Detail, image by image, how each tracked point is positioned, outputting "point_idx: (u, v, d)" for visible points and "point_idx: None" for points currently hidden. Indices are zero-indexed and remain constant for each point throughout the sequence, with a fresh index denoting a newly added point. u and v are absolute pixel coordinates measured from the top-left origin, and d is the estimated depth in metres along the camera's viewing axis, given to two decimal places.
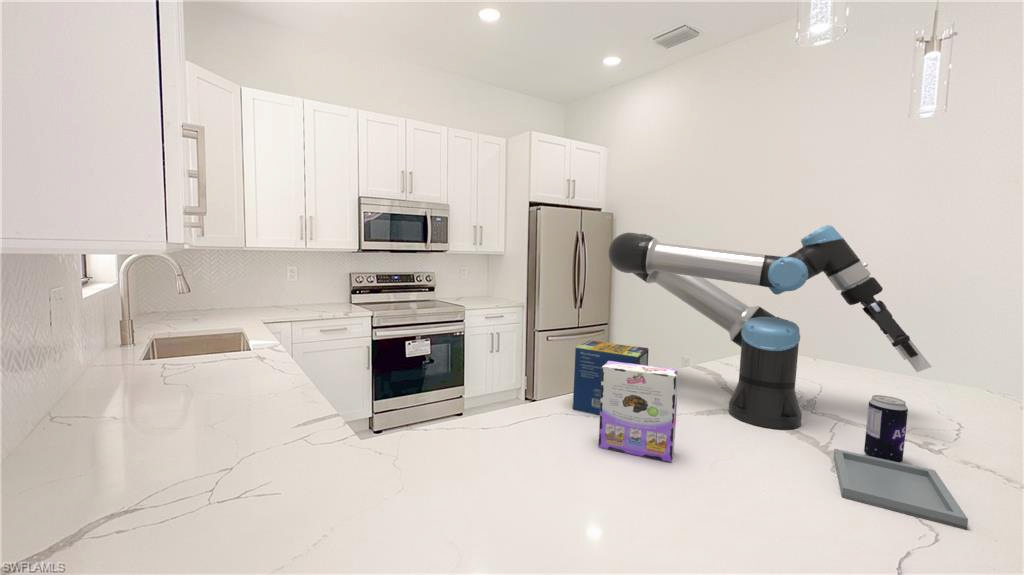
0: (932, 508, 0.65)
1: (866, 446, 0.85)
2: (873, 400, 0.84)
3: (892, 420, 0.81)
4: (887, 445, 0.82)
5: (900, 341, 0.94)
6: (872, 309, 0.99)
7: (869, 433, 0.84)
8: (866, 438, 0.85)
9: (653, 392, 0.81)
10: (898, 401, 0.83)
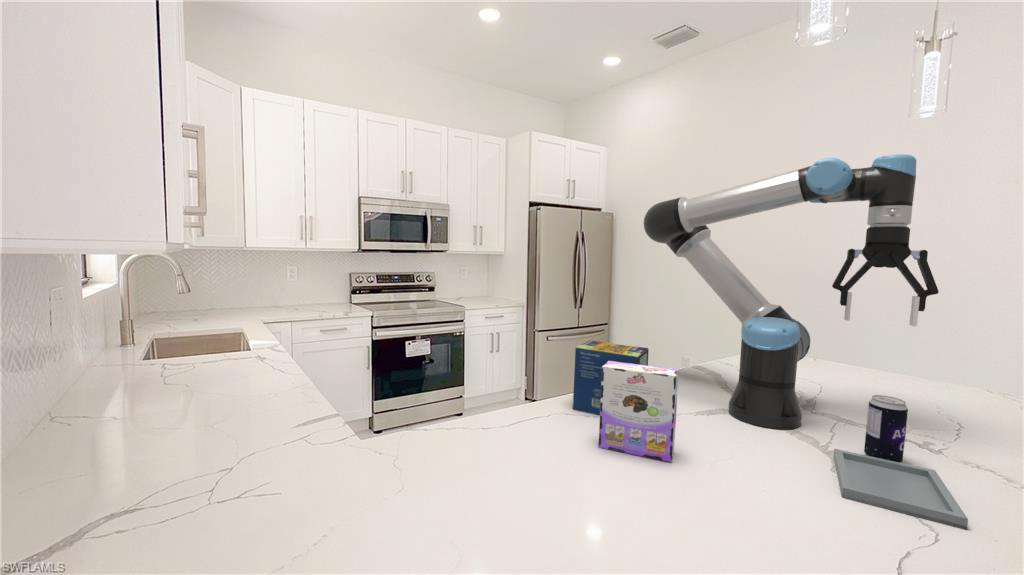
0: (932, 508, 0.65)
1: (866, 446, 0.85)
2: (873, 400, 0.84)
3: (892, 420, 0.81)
4: (887, 445, 0.82)
5: (832, 286, 1.05)
6: (847, 253, 1.04)
7: (869, 433, 0.84)
8: (866, 438, 0.85)
9: (653, 392, 0.81)
10: (898, 401, 0.83)
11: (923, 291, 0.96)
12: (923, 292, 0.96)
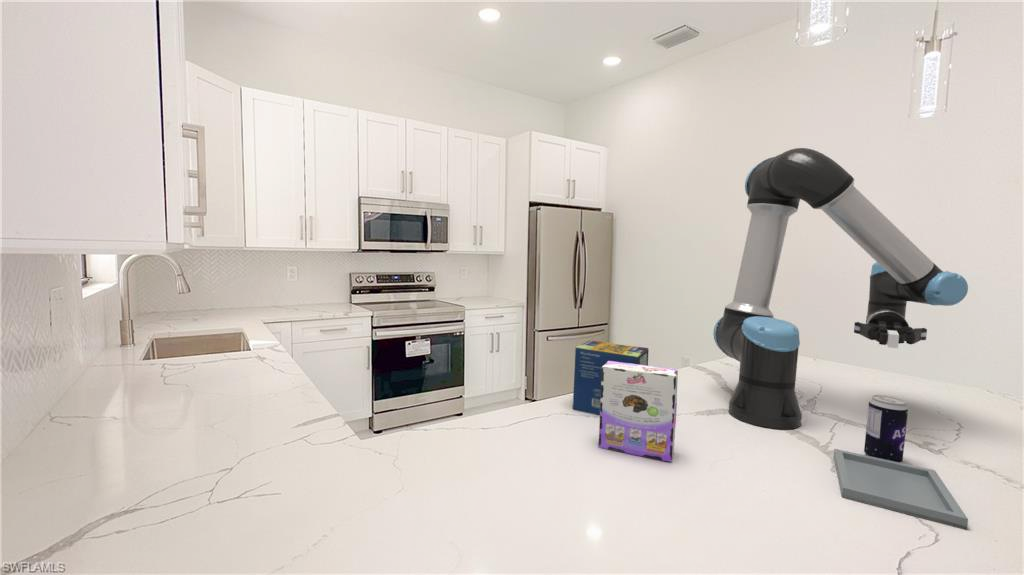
0: (932, 508, 0.65)
1: (866, 446, 0.85)
2: (873, 400, 0.84)
3: (892, 420, 0.81)
4: (887, 445, 0.82)
5: (914, 336, 0.92)
6: (924, 331, 0.97)
7: (869, 433, 0.84)
8: (866, 438, 0.85)
9: (653, 392, 0.81)
10: (898, 401, 0.83)
11: None
12: None
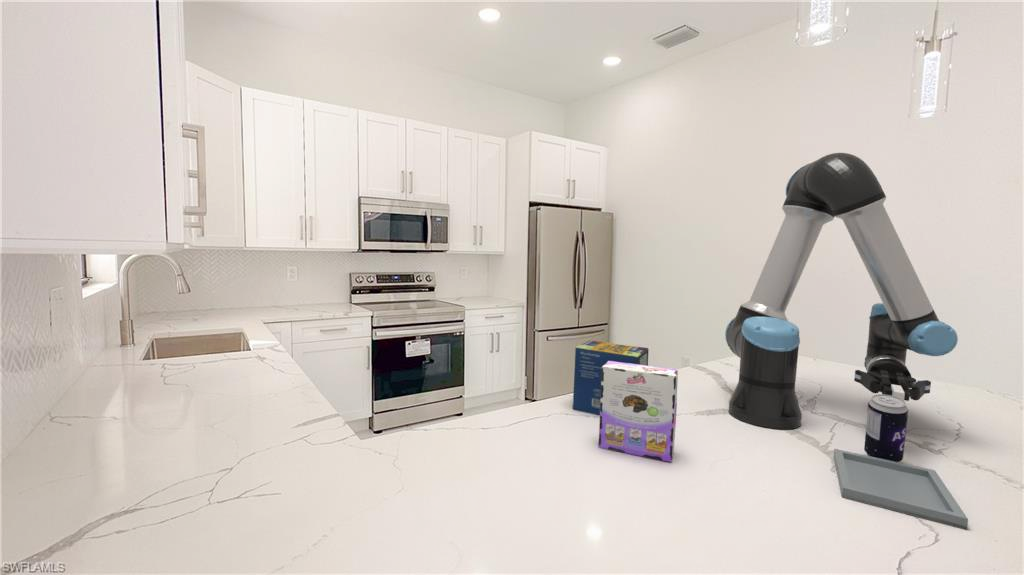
0: (932, 508, 0.65)
1: (866, 445, 0.85)
2: (872, 402, 0.82)
3: (892, 423, 0.80)
4: (887, 447, 0.81)
5: (918, 391, 0.87)
6: (928, 384, 0.92)
7: (869, 434, 0.83)
8: (866, 438, 0.85)
9: (653, 392, 0.81)
10: (898, 402, 0.81)
11: None
12: None
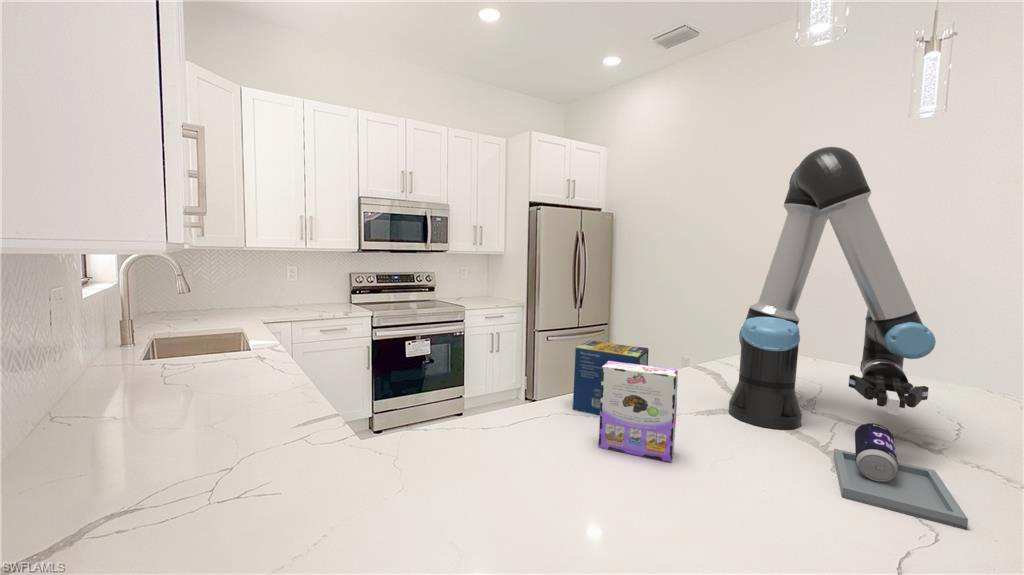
0: (932, 508, 0.65)
1: None
2: (864, 473, 0.76)
3: None
4: None
5: (915, 398, 0.83)
6: (926, 390, 0.88)
7: None
8: None
9: (653, 392, 0.81)
10: (885, 463, 0.74)
11: None
12: None
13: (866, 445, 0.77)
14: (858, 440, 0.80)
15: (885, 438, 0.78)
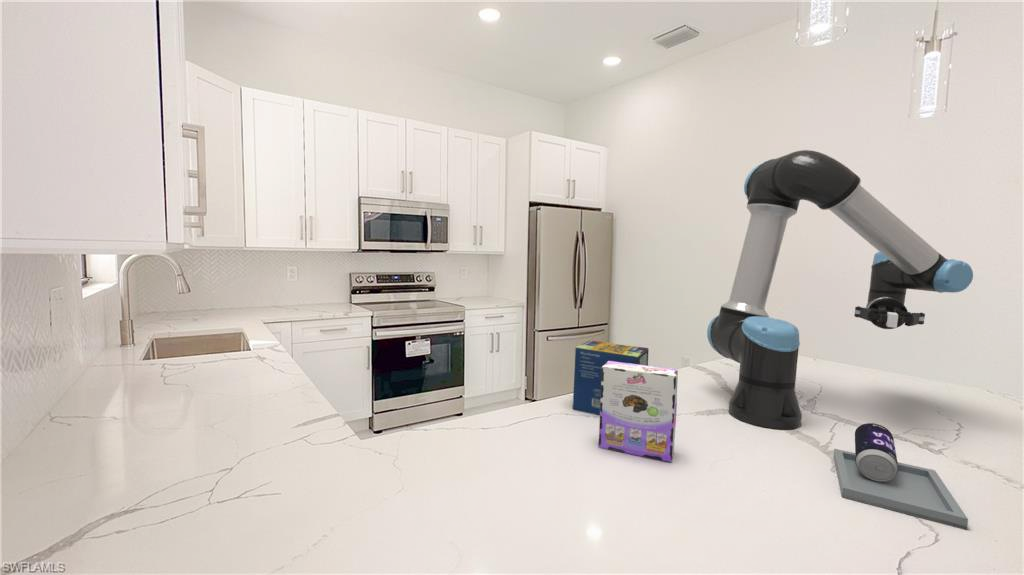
0: (932, 508, 0.65)
1: None
2: (864, 473, 0.76)
3: None
4: None
5: (912, 318, 0.95)
6: (922, 315, 1.00)
7: None
8: None
9: (653, 392, 0.81)
10: (885, 463, 0.74)
11: None
12: None
13: (865, 445, 0.77)
14: (858, 440, 0.80)
15: (885, 438, 0.78)
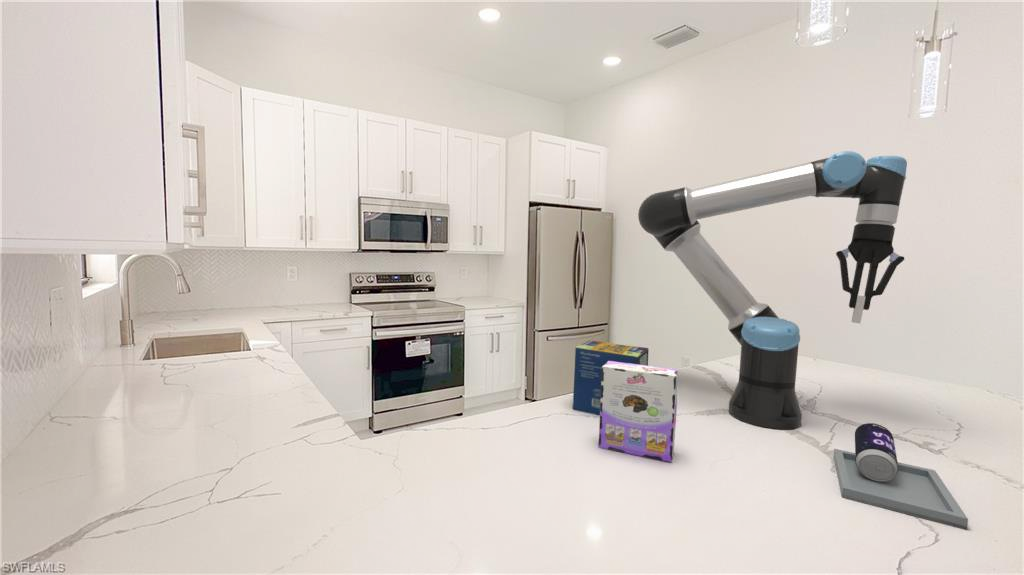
0: (932, 508, 0.65)
1: None
2: (864, 473, 0.76)
3: None
4: None
5: None
6: (900, 262, 1.01)
7: None
8: None
9: (653, 392, 0.81)
10: (885, 463, 0.74)
11: None
12: None
13: (865, 445, 0.77)
14: (858, 440, 0.80)
15: (885, 438, 0.78)
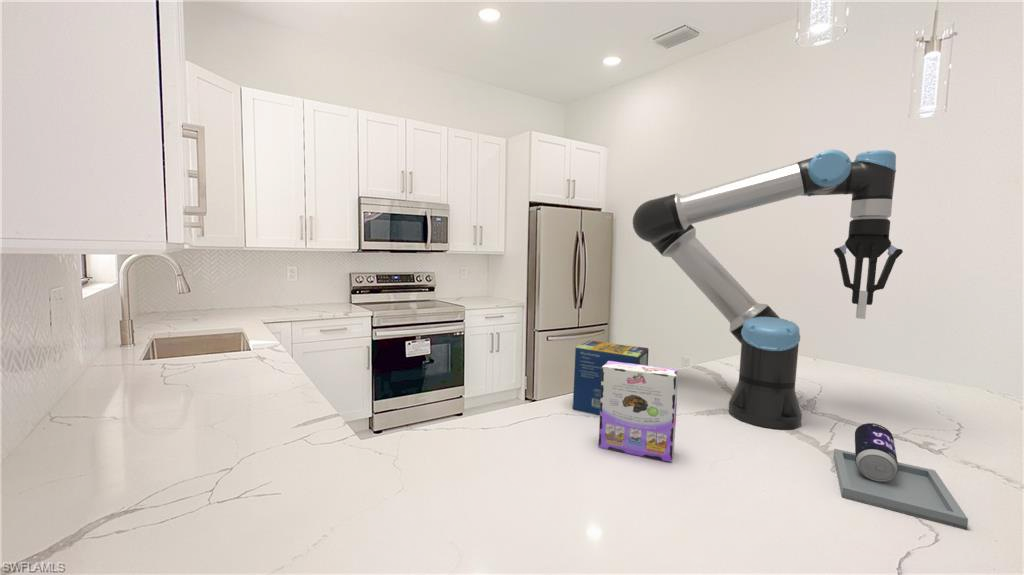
0: (932, 508, 0.65)
1: None
2: (864, 473, 0.76)
3: None
4: None
5: (883, 287, 1.03)
6: (899, 254, 1.01)
7: None
8: None
9: (653, 392, 0.81)
10: (885, 463, 0.74)
11: None
12: None
13: (865, 445, 0.77)
14: (858, 440, 0.80)
15: (885, 438, 0.78)
